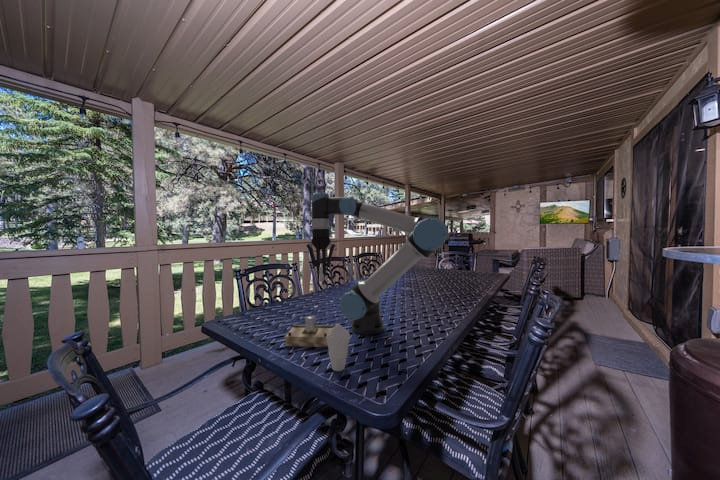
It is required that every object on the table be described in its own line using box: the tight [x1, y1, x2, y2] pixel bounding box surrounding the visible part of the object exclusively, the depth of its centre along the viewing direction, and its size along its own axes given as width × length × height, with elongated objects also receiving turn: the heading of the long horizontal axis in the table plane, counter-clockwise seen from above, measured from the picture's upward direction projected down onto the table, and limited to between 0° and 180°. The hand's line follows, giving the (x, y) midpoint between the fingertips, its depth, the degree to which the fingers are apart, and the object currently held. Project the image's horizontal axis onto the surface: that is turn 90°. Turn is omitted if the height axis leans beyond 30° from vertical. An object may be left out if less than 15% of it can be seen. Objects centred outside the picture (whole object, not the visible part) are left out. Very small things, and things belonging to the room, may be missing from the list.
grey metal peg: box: [304, 315, 317, 334], centre depth 116 cm, size 4×4×10 cm
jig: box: [284, 323, 334, 348], centre depth 116 cm, size 18×12×5 cm, turn 86°
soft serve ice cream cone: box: [326, 322, 351, 372], centre depth 93 cm, size 8×8×16 cm
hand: (321, 281), depth 121 cm, fingers closed
